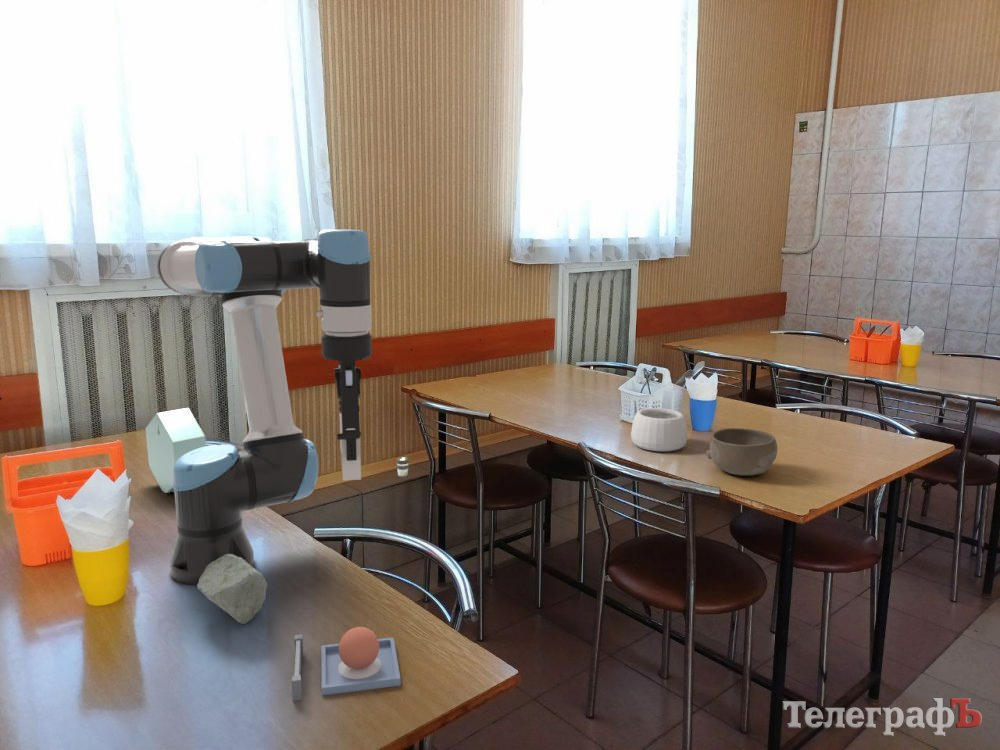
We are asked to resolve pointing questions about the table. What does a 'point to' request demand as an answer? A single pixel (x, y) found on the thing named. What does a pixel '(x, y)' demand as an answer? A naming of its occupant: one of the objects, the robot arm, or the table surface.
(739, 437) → the bowl
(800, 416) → the table surface
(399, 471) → the coffee cup
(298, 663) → the fence
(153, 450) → the pale green faceted block
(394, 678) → the dish
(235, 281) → the robot arm
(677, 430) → the white faceted pot
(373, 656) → the ball
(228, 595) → the decorative stone
